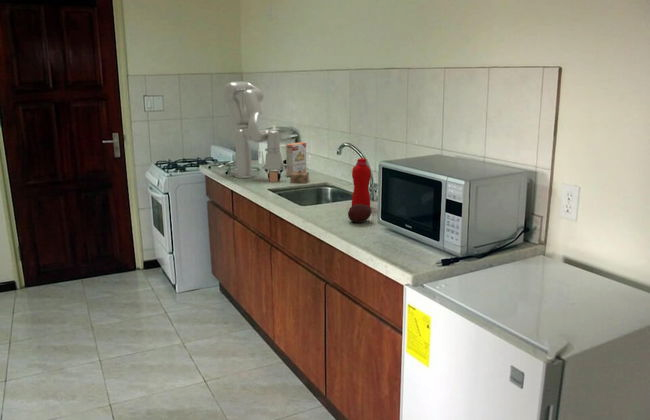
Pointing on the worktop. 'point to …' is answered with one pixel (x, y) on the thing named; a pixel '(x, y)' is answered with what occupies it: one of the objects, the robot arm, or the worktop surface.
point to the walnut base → (299, 177)
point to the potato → (359, 213)
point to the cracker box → (295, 158)
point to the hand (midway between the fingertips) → (274, 179)
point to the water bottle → (361, 183)
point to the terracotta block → (273, 176)
